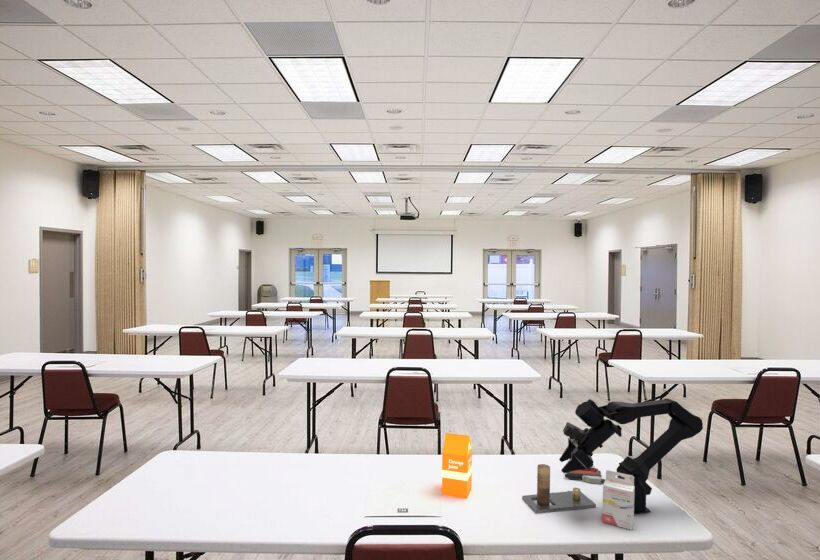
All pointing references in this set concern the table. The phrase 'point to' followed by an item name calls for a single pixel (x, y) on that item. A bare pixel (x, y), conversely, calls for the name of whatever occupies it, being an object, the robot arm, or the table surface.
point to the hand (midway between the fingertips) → (561, 466)
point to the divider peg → (543, 485)
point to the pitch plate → (561, 501)
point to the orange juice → (457, 466)
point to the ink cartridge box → (618, 500)
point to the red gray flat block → (586, 475)
